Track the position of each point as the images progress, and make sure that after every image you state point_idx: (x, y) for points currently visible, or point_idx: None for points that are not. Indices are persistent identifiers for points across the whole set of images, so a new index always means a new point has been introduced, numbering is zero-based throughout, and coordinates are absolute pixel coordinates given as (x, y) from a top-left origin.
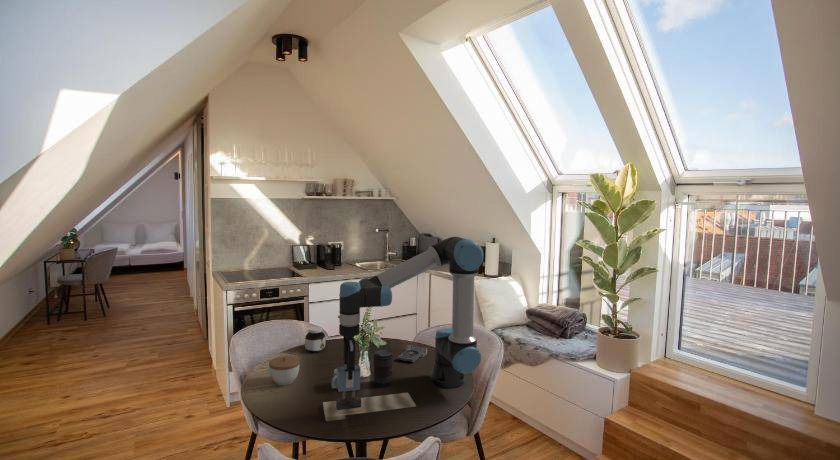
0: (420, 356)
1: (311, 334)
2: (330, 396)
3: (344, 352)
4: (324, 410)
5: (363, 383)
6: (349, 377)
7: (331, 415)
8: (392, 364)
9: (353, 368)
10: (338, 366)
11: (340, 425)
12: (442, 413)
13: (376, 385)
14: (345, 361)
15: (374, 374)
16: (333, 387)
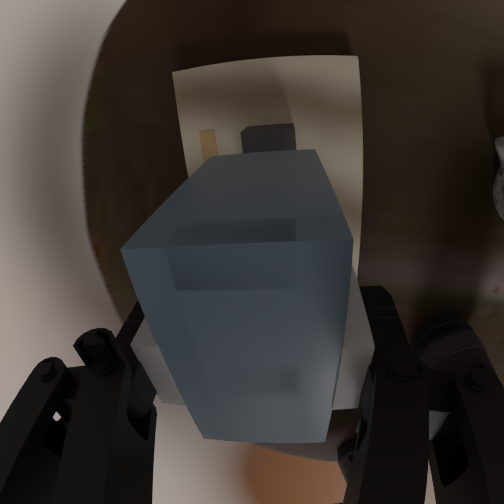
0: None
1: None
2: (447, 114)
3: (487, 501)
4: (260, 58)
5: (495, 276)
6: (136, 317)
7: (189, 98)
8: None
9: (58, 421)
10: (346, 259)
11: (140, 142)
12: None
13: (437, 326)
14: (373, 407)
15: (465, 351)
16: (497, 145)
